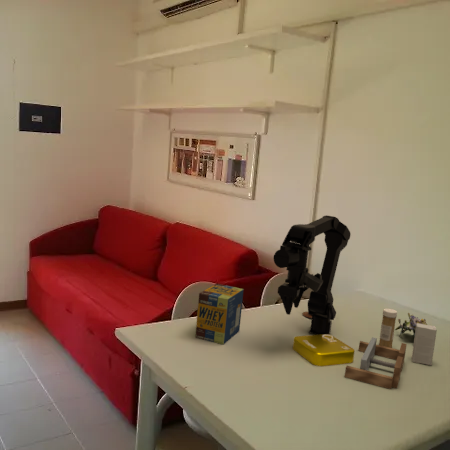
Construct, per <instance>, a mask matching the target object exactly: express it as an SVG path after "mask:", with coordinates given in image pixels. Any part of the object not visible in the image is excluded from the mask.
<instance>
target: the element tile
mask: <svg viewBox="0 0 450 450" xmlns="http://www.w3.org/2000/svg"><path fill="white" fill-rule="evenodd" d="M292 350H293V351H294V352H296V353H297V354H298V355H300V356H301V357H302V358H304V359H305V360H306V361H307V362H309V363H310V364H311V365H313V366H316V367H328V366H337V365H345V364H346V365H347V364H353V363H354V359H355V357H354V356H355V348H353V347H351V346H349V345H348V344H346V343H345V342H343V341H342V340H340V339H339V338H337V337H335V336H334V335H332V334H330V333H329V334H320V335H317V334H310V335H298V336H297V335H296V336H294V337H293V344H292Z"/></svg>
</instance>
